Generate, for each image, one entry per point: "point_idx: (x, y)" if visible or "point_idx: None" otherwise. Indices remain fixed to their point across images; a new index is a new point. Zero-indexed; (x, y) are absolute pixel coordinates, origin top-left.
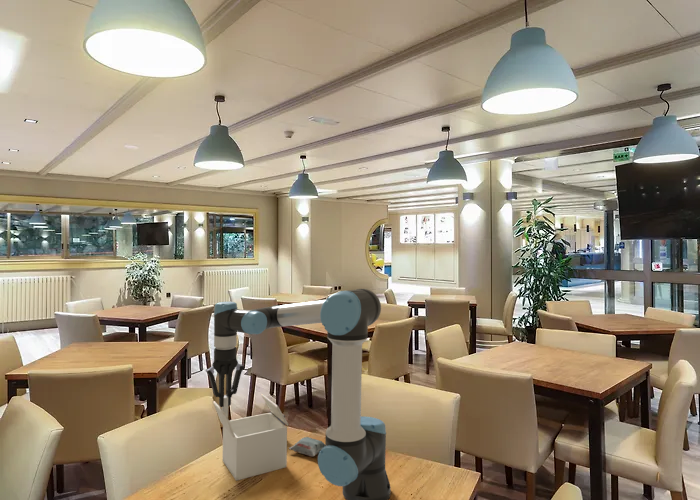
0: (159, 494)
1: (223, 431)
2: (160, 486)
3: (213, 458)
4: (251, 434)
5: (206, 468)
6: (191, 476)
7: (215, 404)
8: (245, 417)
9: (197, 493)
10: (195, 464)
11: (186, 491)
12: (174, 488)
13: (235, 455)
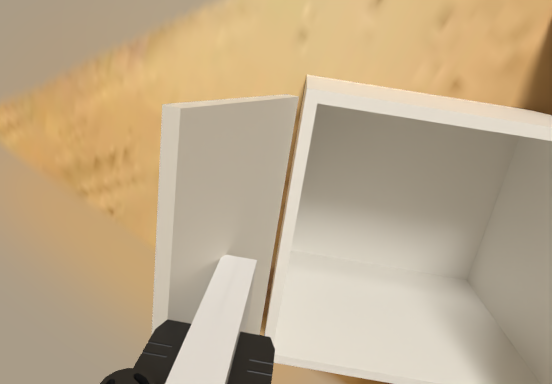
0: (39, 169)
1: (304, 97)
2: (47, 119)
3: (284, 24)
4: (347, 370)
5: (225, 97)
6: (157, 121)
7: (158, 220)
8: (486, 119)
9: (146, 239)
10: (199, 29)
11: (118, 207)
12: (88, 164)
13: (271, 289)
